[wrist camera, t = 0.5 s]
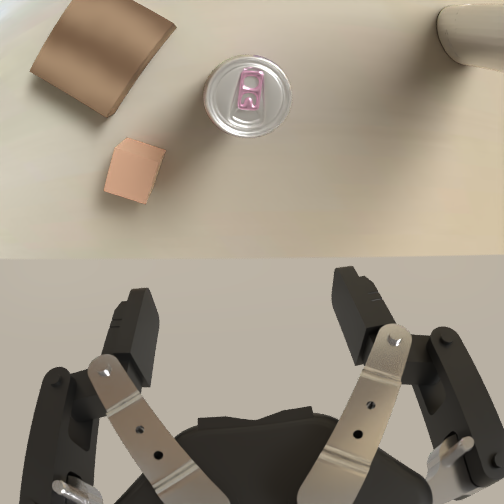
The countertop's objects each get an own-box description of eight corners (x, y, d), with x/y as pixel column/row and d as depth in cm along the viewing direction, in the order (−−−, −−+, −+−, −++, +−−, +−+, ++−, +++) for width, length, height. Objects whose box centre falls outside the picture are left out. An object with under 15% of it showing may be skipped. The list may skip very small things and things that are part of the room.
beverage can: (265, 64, 29) (301, 60, 17) (258, 114, 33) (288, 145, 20) (210, 60, 28) (207, 49, 16) (205, 110, 32) (199, 138, 19)
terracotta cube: (127, 137, 32) (114, 147, 28) (166, 149, 34) (159, 162, 29) (116, 175, 34) (103, 190, 30) (153, 187, 36) (145, 204, 32)
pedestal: (97, -15, 21) (88, -21, 18) (176, 27, 26) (173, 23, 23) (41, 69, 25) (29, 71, 23) (114, 113, 30) (106, 117, 28)
